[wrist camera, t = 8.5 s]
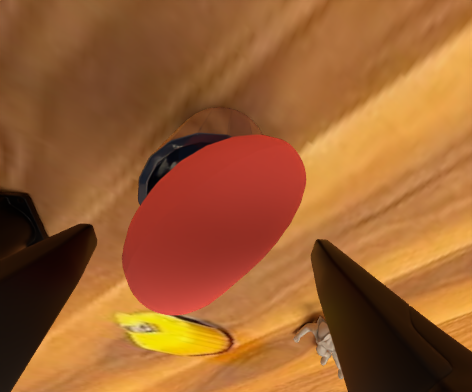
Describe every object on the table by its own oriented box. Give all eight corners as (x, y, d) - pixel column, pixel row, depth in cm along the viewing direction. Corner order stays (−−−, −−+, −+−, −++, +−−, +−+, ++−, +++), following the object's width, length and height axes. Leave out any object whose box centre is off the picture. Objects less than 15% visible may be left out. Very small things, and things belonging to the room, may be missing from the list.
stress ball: (118, 182, 12) (72, 312, 9) (230, 65, 7) (214, 303, 3) (196, 213, 15) (182, 317, 12) (318, 151, 10) (353, 317, 6)
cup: (260, 197, 20) (272, 261, 13) (177, 192, 19) (146, 253, 13) (273, 111, 16) (298, 140, 10) (171, 102, 16) (125, 127, 9)
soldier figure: (301, 349, 34) (277, 338, 26) (315, 319, 36) (296, 300, 28) (355, 390, 29) (346, 393, 21) (368, 353, 31) (365, 343, 22)
